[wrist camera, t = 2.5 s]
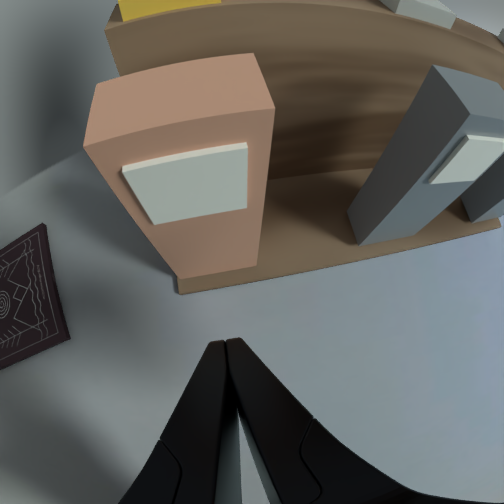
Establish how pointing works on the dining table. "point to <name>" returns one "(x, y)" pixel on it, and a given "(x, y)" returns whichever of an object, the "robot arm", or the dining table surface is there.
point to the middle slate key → (431, 155)
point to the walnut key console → (317, 106)
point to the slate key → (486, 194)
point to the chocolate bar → (29, 299)
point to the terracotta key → (189, 157)
